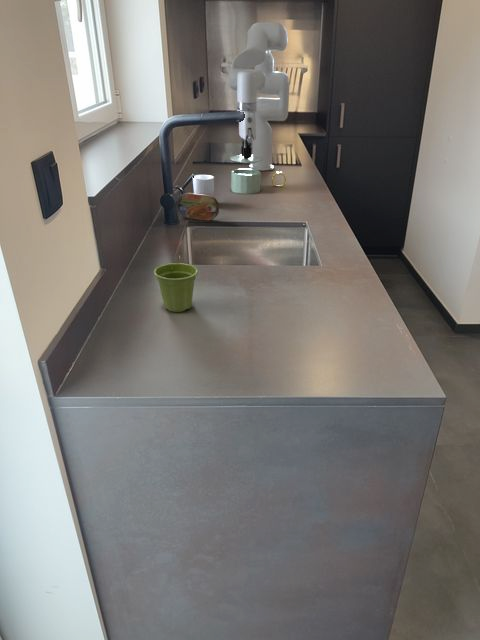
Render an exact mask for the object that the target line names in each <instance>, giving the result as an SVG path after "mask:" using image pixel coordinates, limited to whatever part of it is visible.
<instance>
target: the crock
mask: <svg viewBox="0 0 480 640" xmlns="http://www.w3.org/2000/svg"><path fill="white" fill-rule="evenodd" d="M261 173H262V172H261V171H260V170H253V169H250V168H236V169H232V170H231V171H230V191H231V192H233V193H236V194H242V195H252V194H253V195H254V194H258V193H260V191H261V176H262V175H261Z"/></svg>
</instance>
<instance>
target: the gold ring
mask: <svg viewBox="0 0 480 640" xmlns="http://www.w3.org/2000/svg"><path fill="white" fill-rule="evenodd" d="M276 175H279V176H280V175H281V176H283V178H284V181H283V183H282V184H275V183H274V178H275V176H276ZM286 181H287V177H286V176H285V174H284V173H283V171H276V172H275V173H274V174H273V175H272V176H271V183H272V185H273V187H280V188H283V186H285V184H286Z"/></svg>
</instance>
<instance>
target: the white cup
mask: <svg viewBox="0 0 480 640" xmlns="http://www.w3.org/2000/svg"><path fill="white" fill-rule="evenodd" d="M193 176H194V178H193V177H192V187H193V193H195V194H204V195H211V196H213V197H214V194H215V193H214V192H215V176H213V175H211V174H195V175H193Z"/></svg>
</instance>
